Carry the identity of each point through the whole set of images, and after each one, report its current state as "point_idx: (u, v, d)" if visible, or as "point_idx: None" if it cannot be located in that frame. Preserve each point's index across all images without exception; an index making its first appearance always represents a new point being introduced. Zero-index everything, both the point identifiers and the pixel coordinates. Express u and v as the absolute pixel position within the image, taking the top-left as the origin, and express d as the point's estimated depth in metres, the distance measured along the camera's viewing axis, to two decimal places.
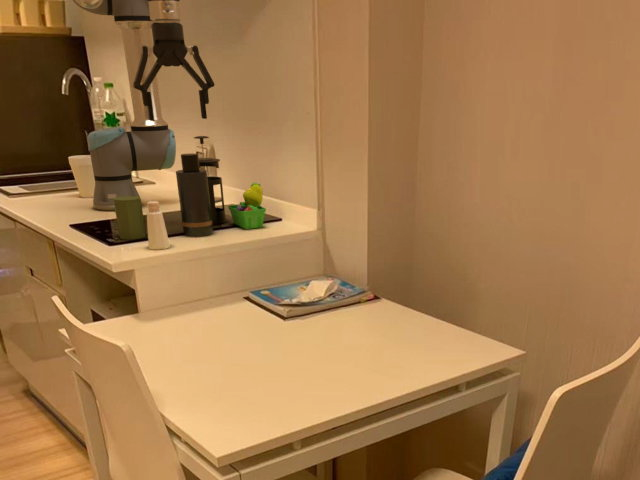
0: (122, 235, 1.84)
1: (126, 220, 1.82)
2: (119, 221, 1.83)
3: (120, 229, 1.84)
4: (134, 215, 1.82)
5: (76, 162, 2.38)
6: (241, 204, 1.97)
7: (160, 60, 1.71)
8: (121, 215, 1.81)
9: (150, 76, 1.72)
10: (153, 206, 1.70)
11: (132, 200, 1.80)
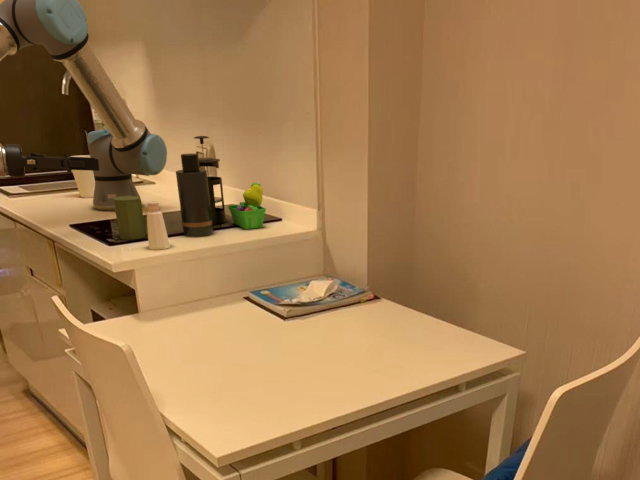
0: (122, 235, 1.84)
1: (126, 220, 1.82)
2: (119, 221, 1.83)
3: (120, 229, 1.84)
4: (134, 215, 1.82)
5: None
6: (241, 204, 1.97)
7: None
8: (121, 215, 1.81)
9: None
10: (153, 206, 1.70)
11: (132, 200, 1.80)
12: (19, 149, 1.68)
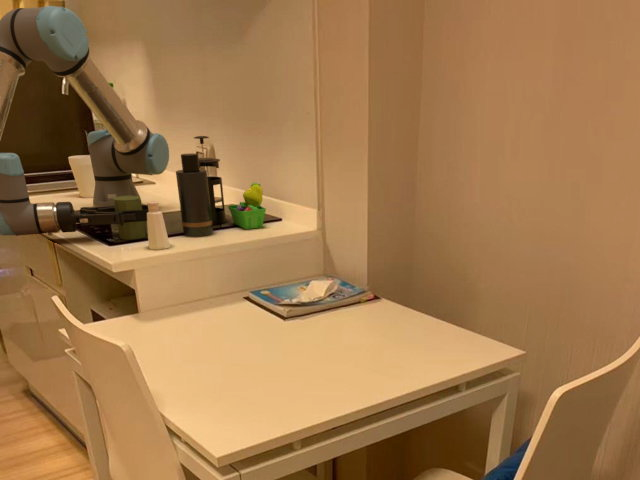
0: (122, 235, 1.84)
1: None
2: None
3: (120, 229, 1.84)
4: None
5: (76, 162, 2.38)
6: (241, 204, 1.97)
7: None
8: None
9: None
10: (153, 206, 1.70)
11: (132, 200, 1.80)
12: (69, 207, 1.78)
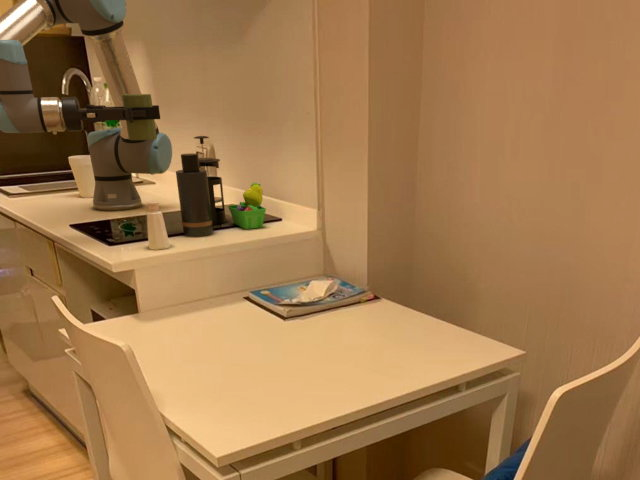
0: (131, 135, 1.73)
1: None
2: None
3: (129, 129, 1.73)
4: None
5: (76, 162, 2.38)
6: (241, 204, 1.97)
7: None
8: None
9: None
10: (153, 206, 1.70)
11: (142, 96, 1.69)
12: (75, 102, 1.67)
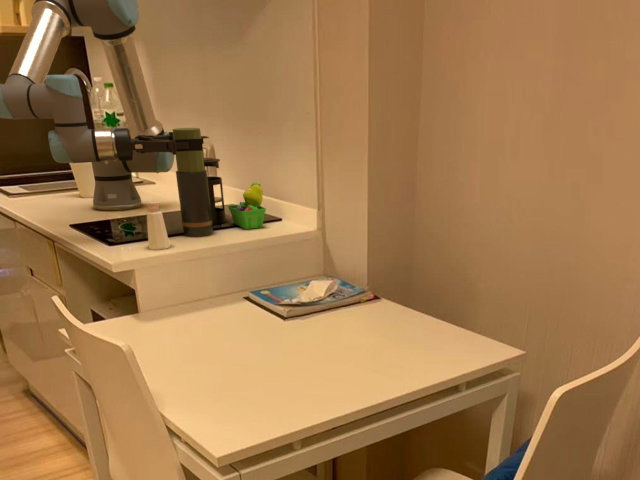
0: (181, 168, 1.79)
1: (186, 151, 1.77)
2: (178, 153, 1.77)
3: (179, 162, 1.79)
4: None
5: None
6: (241, 204, 1.97)
7: None
8: None
9: None
10: (153, 206, 1.70)
11: (192, 130, 1.75)
12: (127, 133, 1.72)
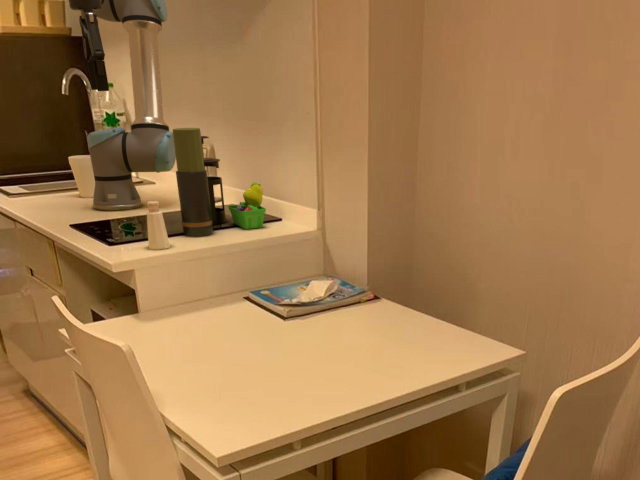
0: (181, 168, 1.79)
1: (186, 151, 1.77)
2: (178, 153, 1.77)
3: (179, 162, 1.79)
4: (194, 146, 1.77)
5: (76, 162, 2.38)
6: (241, 204, 1.97)
7: (81, 29, 1.73)
8: (181, 146, 1.76)
9: (85, 46, 1.77)
10: (153, 206, 1.70)
11: (192, 130, 1.75)
12: (98, 7, 1.67)
